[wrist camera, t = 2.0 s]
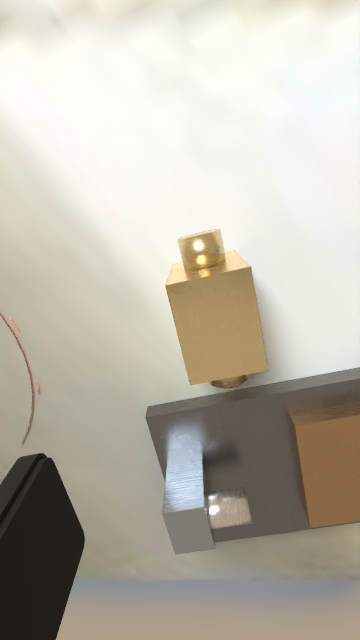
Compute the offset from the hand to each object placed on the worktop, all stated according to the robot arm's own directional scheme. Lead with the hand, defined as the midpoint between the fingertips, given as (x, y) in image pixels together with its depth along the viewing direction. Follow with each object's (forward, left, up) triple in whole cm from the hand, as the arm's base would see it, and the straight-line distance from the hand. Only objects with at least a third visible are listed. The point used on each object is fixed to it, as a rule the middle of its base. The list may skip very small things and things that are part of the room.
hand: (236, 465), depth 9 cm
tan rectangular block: (0, 0, -17) cm, 17 cm away
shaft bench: (-8, +15, -17) cm, 24 cm away
